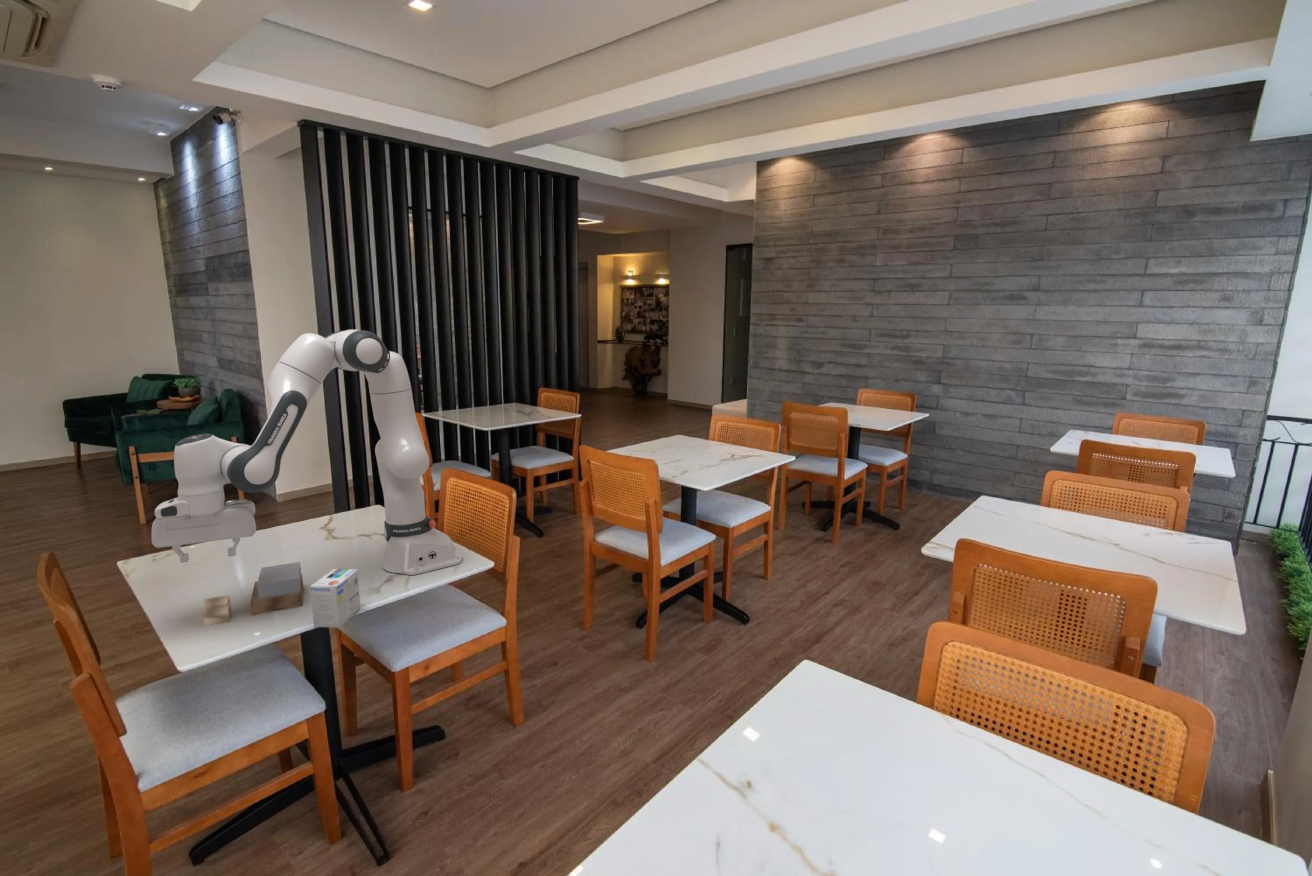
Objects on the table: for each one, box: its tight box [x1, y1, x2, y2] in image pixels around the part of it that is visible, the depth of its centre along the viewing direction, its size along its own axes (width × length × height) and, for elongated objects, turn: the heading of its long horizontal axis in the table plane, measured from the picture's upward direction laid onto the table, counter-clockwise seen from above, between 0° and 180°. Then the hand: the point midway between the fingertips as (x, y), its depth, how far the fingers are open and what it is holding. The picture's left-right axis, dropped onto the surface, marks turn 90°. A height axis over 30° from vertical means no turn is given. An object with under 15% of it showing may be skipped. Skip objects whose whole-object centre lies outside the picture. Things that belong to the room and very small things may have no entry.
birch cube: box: [201, 594, 232, 627], centre depth 154 cm, size 5×5×5 cm
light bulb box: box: [309, 568, 361, 628], centre depth 155 cm, size 11×7×11 cm, turn 178°
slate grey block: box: [257, 561, 302, 599], centre depth 164 cm, size 9×12×4 cm
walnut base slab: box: [250, 573, 304, 616], centre depth 165 cm, size 11×14×4 cm
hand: (208, 558), depth 151 cm, fingers open, 8 cm apart
